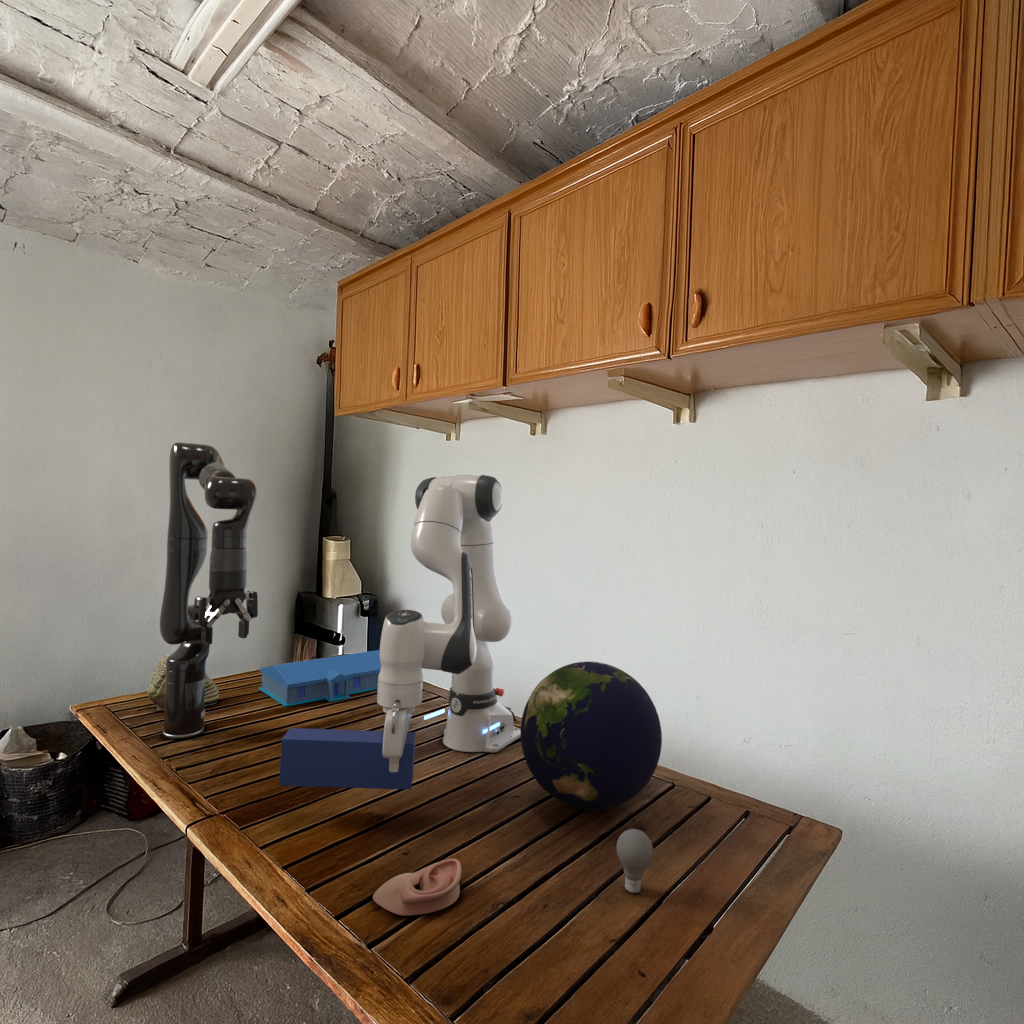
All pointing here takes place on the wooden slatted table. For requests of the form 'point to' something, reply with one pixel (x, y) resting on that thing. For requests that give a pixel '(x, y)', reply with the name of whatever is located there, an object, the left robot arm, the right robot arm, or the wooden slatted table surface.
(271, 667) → the model building
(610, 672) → the globe
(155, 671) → the fossil
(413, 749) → the box
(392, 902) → the anatomical model
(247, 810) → the wooden slatted table surface
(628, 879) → the light bulb
